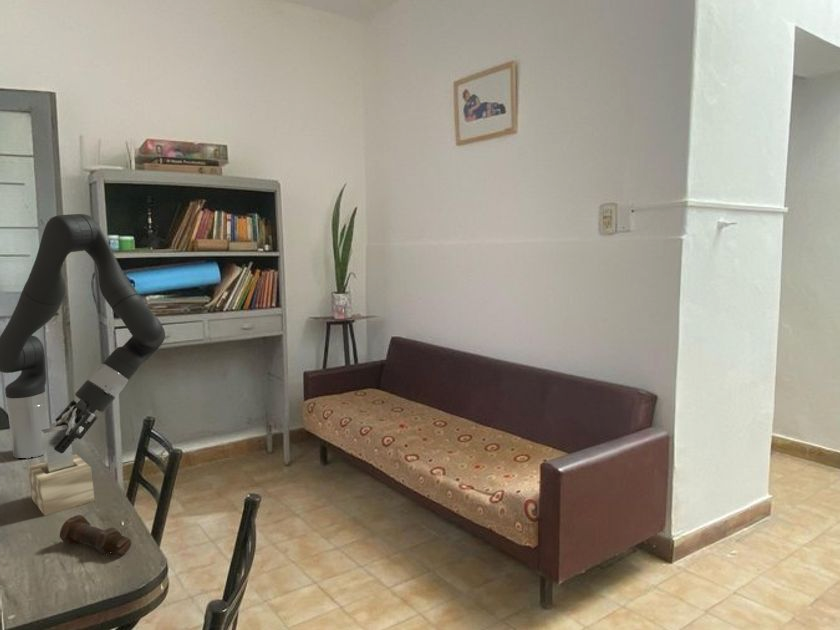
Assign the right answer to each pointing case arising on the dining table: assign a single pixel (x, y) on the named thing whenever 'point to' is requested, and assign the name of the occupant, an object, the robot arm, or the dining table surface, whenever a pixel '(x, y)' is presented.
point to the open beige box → (61, 486)
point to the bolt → (94, 536)
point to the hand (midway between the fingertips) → (52, 446)
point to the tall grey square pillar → (51, 456)
